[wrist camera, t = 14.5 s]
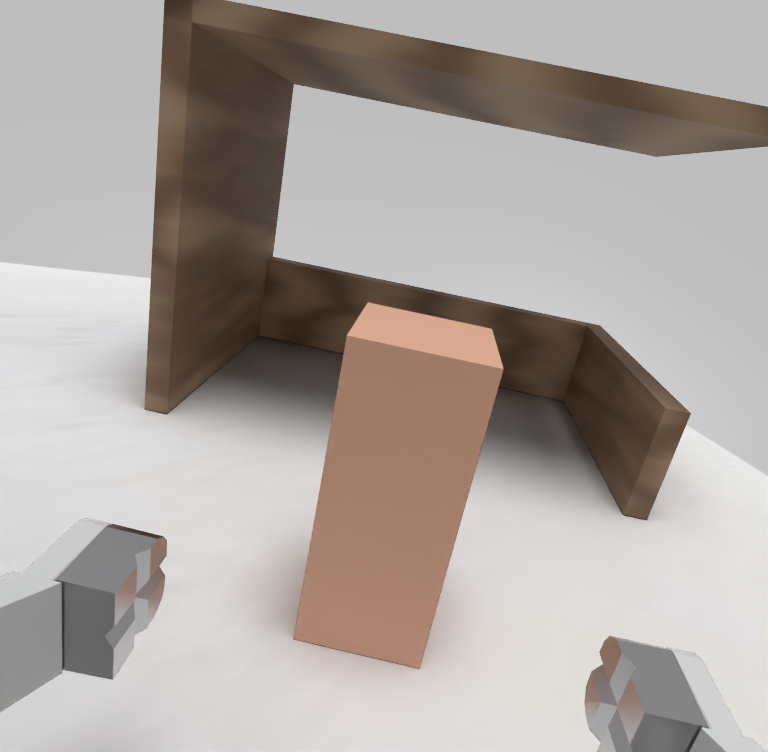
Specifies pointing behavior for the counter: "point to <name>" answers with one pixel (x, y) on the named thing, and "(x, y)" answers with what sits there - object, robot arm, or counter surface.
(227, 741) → the counter surface
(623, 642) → the robot arm
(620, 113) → the walnut box
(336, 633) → the terracotta block
